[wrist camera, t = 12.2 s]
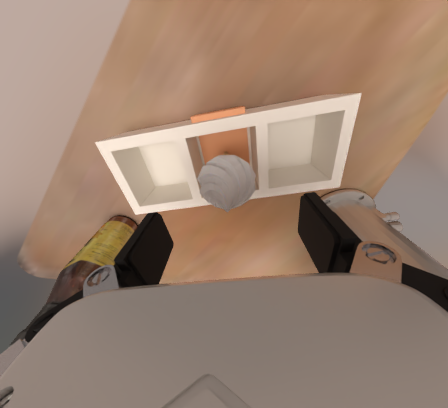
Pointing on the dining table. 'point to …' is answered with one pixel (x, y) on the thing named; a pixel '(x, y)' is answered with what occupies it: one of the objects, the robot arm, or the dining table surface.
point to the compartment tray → (235, 151)
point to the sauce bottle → (88, 262)
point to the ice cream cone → (227, 181)
